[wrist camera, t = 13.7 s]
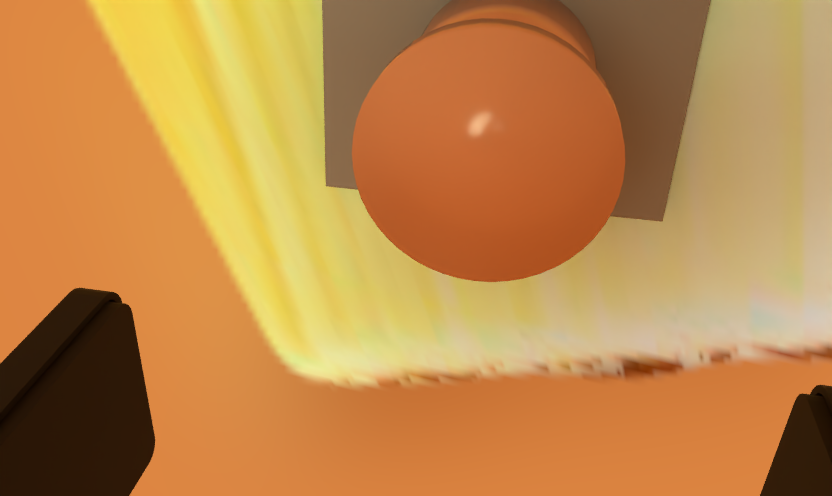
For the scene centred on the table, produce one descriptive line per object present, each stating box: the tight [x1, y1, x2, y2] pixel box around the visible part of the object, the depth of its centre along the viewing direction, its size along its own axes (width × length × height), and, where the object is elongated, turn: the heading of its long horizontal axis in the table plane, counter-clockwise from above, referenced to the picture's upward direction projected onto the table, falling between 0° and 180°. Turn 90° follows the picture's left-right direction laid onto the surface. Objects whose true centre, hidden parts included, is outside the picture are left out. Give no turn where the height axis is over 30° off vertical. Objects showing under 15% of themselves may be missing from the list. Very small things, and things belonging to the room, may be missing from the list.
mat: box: [322, 0, 710, 221], centre depth 26 cm, size 12×9×1 cm
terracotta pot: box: [352, 0, 625, 282], centre depth 23 cm, size 7×7×7 cm
